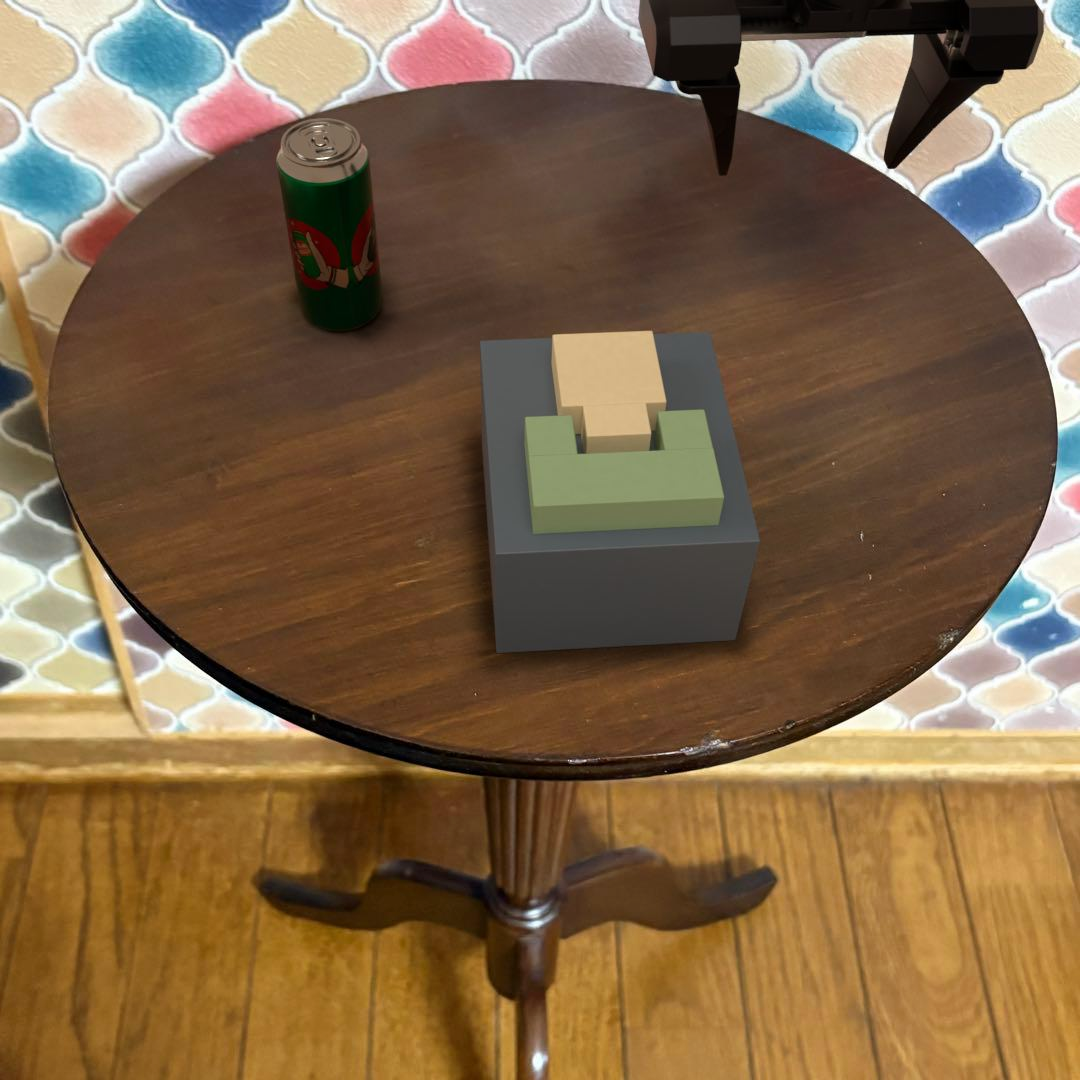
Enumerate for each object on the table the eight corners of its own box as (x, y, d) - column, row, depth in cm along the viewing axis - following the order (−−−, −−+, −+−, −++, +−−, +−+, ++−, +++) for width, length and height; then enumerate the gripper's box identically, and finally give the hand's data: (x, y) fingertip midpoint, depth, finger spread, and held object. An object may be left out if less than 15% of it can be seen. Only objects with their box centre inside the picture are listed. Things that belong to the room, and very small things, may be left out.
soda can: (368, 274, 81) (350, 105, 72) (394, 324, 78) (380, 155, 69) (290, 294, 80) (262, 124, 70) (314, 345, 77) (288, 176, 68)
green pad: (699, 437, 62) (704, 408, 60) (718, 525, 58) (724, 497, 57) (524, 445, 61) (524, 416, 60) (532, 534, 58) (533, 506, 56)
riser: (692, 436, 73) (710, 331, 67) (735, 640, 64) (760, 540, 58) (481, 446, 72) (479, 339, 66) (496, 653, 63) (495, 554, 57)
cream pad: (649, 359, 65) (652, 330, 64) (668, 461, 61) (673, 432, 59) (551, 363, 65) (552, 333, 63) (564, 466, 61) (565, 437, 59)
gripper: (1015, -212, 62) (931, 78, 75) (635, -206, 61) (613, 89, 73) (1098, -105, 55) (991, 196, 68) (673, -96, 54) (641, 210, 66)
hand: (805, 167), depth 69 cm, fingers open, 9 cm apart
